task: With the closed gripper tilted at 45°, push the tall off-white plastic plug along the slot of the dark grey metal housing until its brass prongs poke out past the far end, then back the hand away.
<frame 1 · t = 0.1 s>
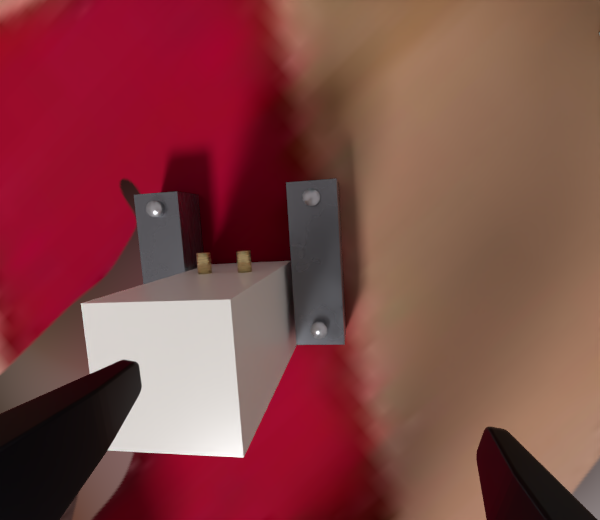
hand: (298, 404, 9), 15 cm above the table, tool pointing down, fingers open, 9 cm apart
plug: (220, 319, 19), point 6 cm above the table, slide at 0.0 cm
housing: (250, 262, 25), on the table
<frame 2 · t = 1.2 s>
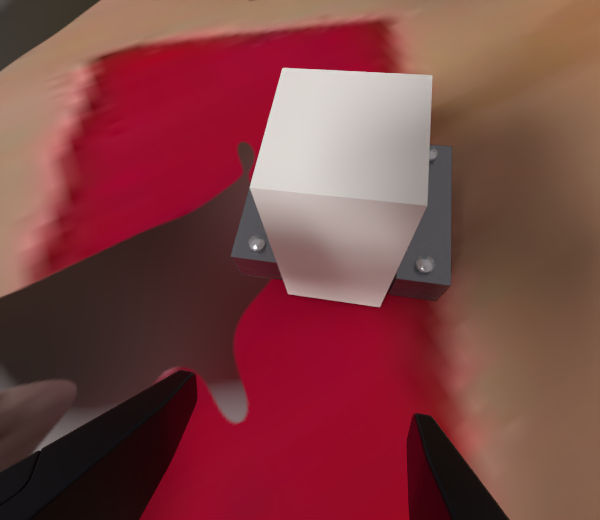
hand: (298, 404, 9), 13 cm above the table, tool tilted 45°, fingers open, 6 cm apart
plug: (342, 203, 19), point 6 cm above the table, slide at 0.0 cm
housing: (344, 222, 25), on the table
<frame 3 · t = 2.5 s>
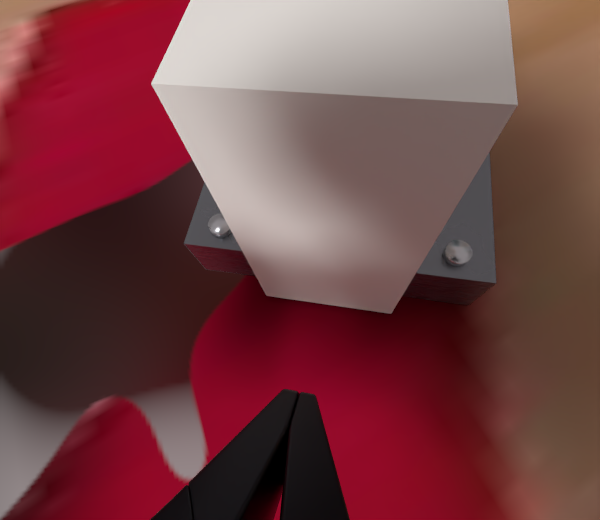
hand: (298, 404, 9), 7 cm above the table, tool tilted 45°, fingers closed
plug: (339, 161, 13), point 6 cm above the table, slide at 0.0 cm
housing: (342, 201, 19), on the table
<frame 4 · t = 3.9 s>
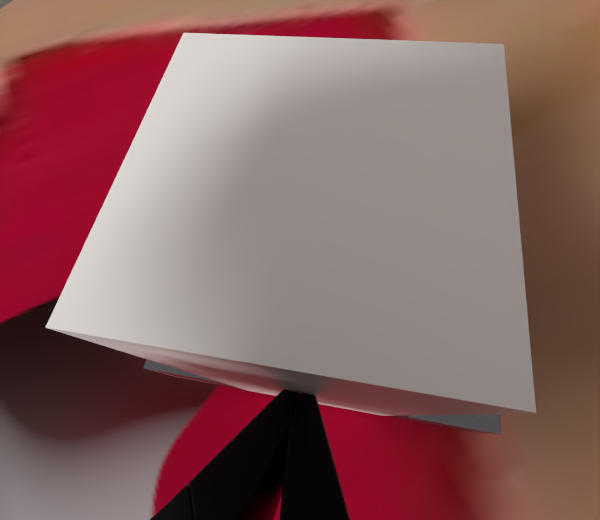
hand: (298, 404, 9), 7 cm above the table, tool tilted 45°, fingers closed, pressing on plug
plug: (321, 274, 11), point 6 cm above the table, slide at 1.0 cm, touching gripper
housing: (328, 294, 17), on the table
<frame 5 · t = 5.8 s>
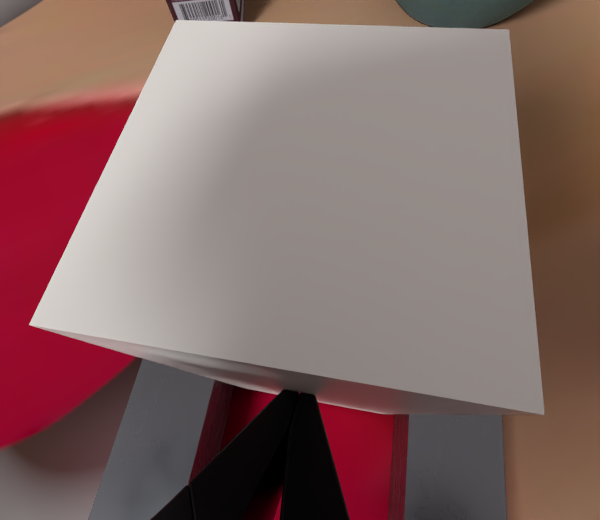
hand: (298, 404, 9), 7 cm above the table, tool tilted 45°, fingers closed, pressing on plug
plug: (320, 271, 11), point 6 cm above the table, slide at 8.7 cm, touching gripper
housing: (301, 470, 14), on the table
supplement box: (216, 9, 27), on the table
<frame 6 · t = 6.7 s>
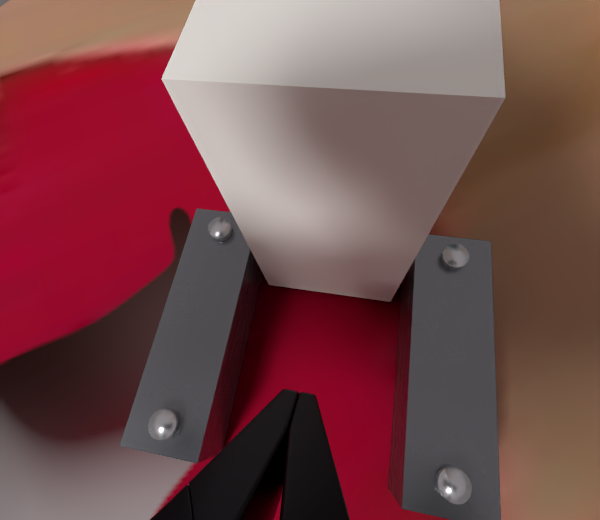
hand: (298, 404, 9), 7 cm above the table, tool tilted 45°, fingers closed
plug: (340, 152, 13), point 6 cm above the table, slide at 8.7 cm
housing: (320, 348, 16), on the table
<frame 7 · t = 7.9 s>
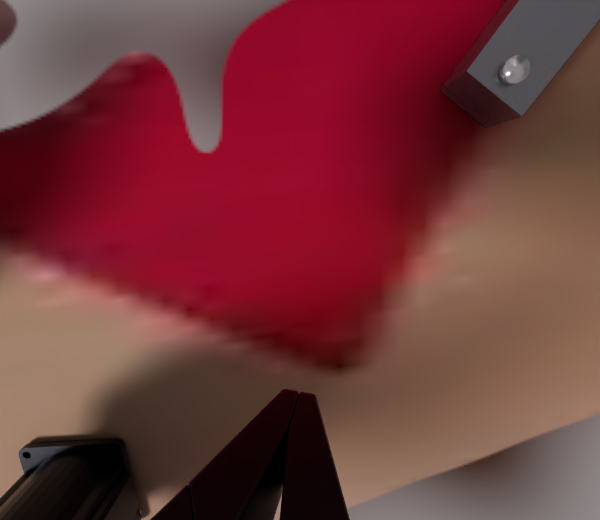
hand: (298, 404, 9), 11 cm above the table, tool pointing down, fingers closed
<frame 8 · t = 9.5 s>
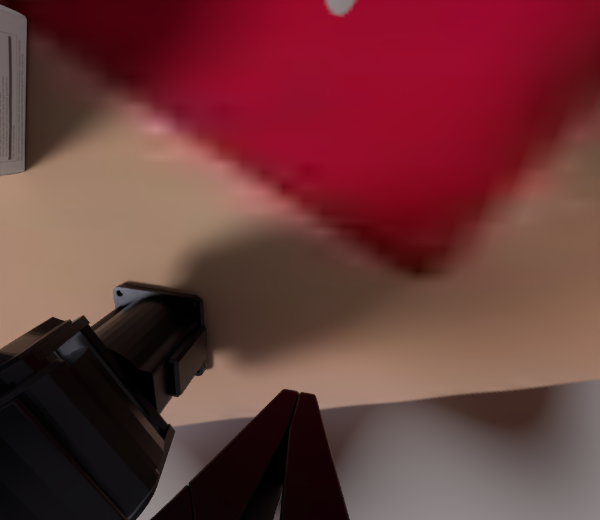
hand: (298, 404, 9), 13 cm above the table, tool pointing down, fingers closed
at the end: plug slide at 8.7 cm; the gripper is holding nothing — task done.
